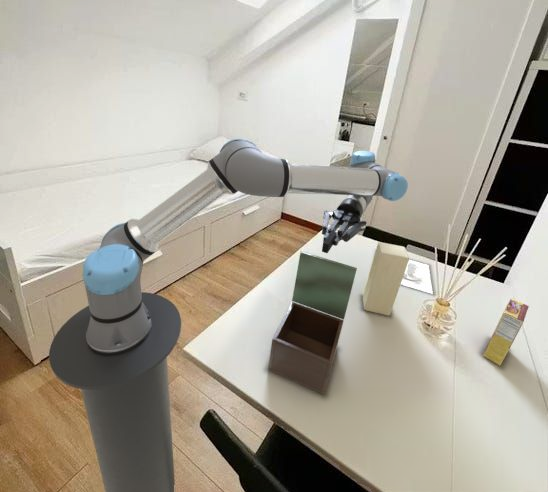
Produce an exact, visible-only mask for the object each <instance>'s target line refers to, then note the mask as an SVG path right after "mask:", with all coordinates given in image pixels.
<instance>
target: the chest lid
mask: <svg viewBox="0 0 548 492" xmlns="http://www.w3.org/2000/svg"><path fill="white" fill-rule="evenodd" d="M357 271H358V268H357V267H356V266H353V265H349V264H346V263H342V262H339V261H336V260H332V259H329V258H325V257H322V256H320V255H315V254H312V253H309V252H305V251H303V250H300V253H299V258H298V265H297V270H296V276H295V281H294V287H293V293H292V299H291V302H295V303H297V304H300V305H303V306H306V307H308V308H311V309H314V310H317V311H319V312H322V313H325V314H328V315H330V316H333V317H336V318H339V319H341V320H345V317H346V313H347V309H348V305H349V301H350V297H351V294H352V289H353V285H354V282H355V277H356V274H357Z"/></svg>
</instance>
